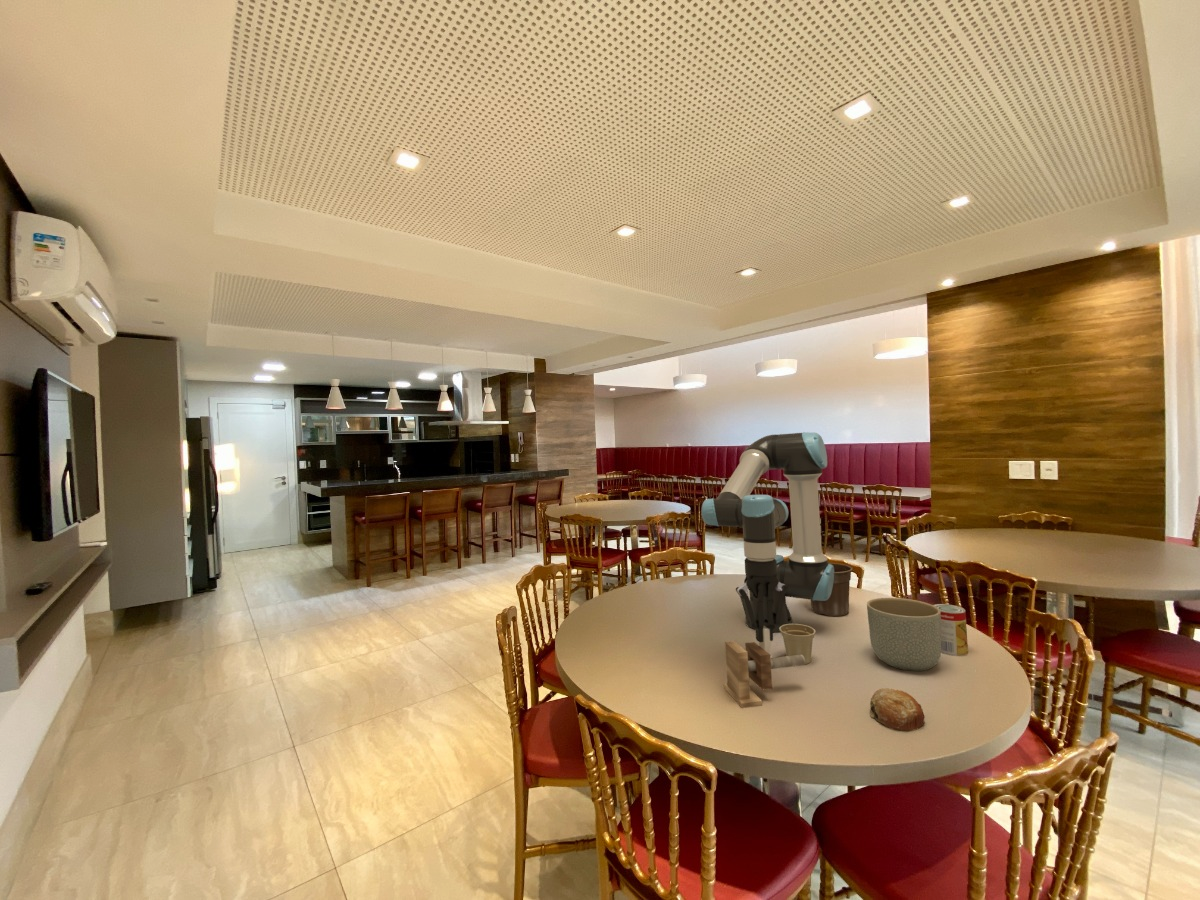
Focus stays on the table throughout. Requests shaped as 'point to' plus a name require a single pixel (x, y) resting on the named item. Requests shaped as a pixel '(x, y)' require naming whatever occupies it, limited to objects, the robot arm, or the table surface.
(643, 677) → the table surface
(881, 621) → the planter
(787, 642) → the flower pot
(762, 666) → the collar
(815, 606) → the plant pot
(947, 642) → the canned food
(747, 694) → the rail stand
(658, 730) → the table surface
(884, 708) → the bread roll
